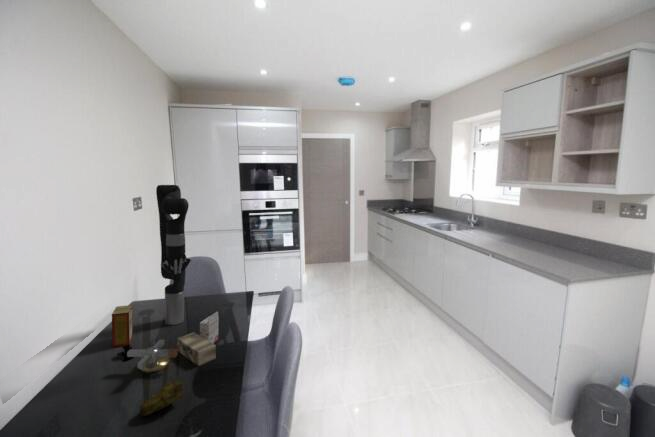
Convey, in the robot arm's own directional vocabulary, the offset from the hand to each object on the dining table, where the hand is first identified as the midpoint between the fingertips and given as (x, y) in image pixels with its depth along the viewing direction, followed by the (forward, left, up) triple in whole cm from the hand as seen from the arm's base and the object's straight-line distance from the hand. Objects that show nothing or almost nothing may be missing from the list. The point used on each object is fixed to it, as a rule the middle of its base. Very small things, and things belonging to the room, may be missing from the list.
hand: (176, 281), depth 135 cm
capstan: (+6, -13, -33) cm, 36 cm away
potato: (+31, -20, -33) cm, 50 cm away
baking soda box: (-27, -12, -33) cm, 44 cm away
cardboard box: (+9, +4, -33) cm, 34 cm away
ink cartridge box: (+4, +14, -33) cm, 36 cm away
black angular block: (-12, -16, -34) cm, 39 cm away
